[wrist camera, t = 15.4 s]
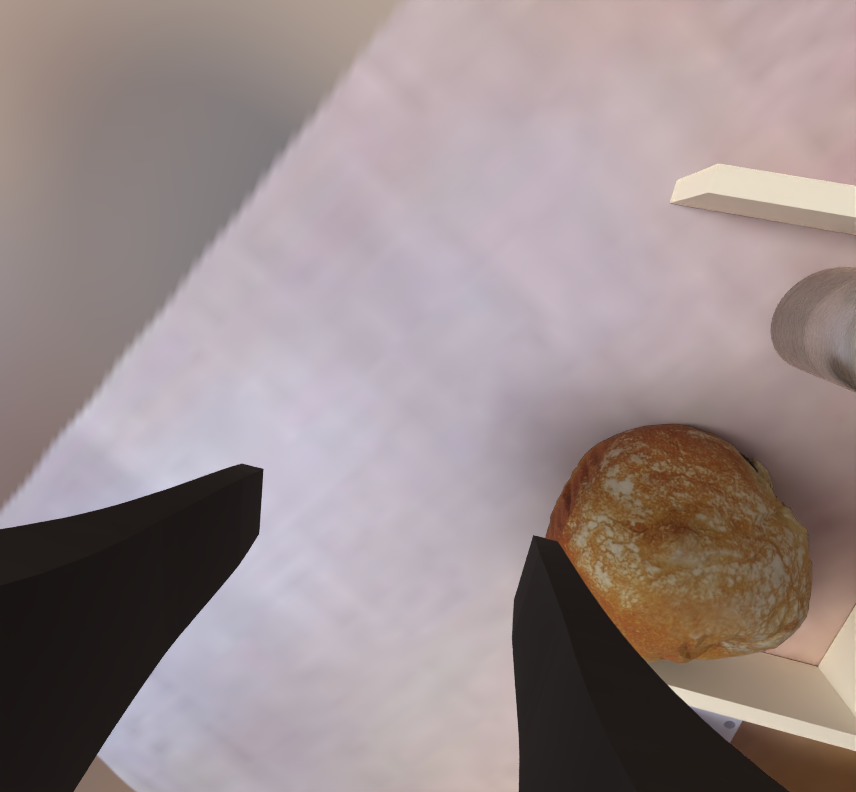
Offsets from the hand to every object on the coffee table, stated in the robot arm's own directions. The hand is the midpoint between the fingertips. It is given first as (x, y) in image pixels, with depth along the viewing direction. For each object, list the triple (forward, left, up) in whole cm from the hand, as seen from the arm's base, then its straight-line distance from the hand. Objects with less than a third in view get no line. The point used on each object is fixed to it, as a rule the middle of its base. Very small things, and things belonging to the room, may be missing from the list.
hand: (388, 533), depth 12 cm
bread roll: (-3, -11, -10) cm, 15 cm away
